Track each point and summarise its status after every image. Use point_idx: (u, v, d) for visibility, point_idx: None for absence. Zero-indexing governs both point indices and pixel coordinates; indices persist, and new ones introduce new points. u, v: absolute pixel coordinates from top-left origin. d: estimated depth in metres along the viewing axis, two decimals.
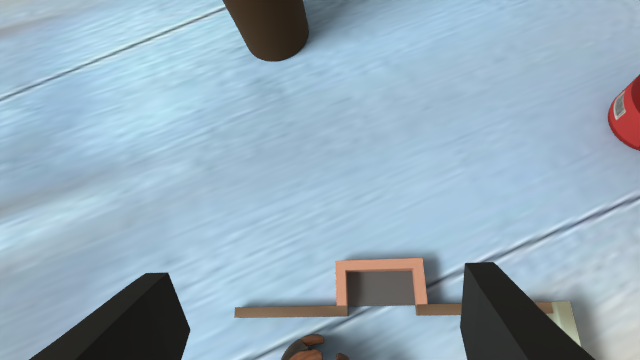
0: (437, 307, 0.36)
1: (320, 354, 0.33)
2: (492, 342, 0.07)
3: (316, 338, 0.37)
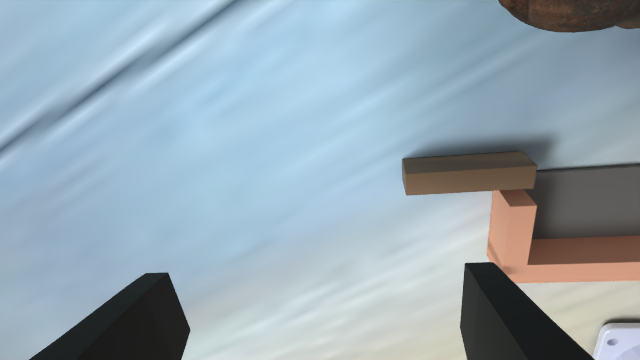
0: None
1: None
2: (492, 342, 0.07)
3: None
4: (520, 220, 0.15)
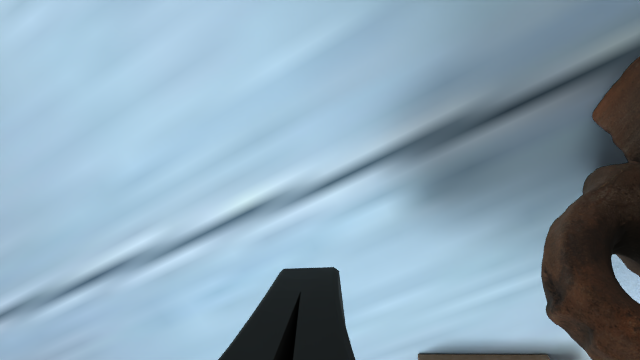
0: None
1: None
2: None
3: None
4: None
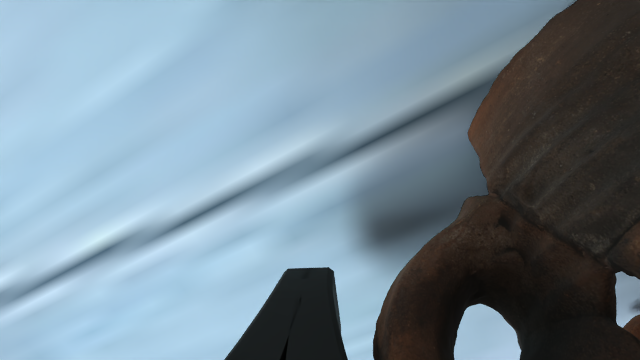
0: None
1: None
2: None
3: None
4: None
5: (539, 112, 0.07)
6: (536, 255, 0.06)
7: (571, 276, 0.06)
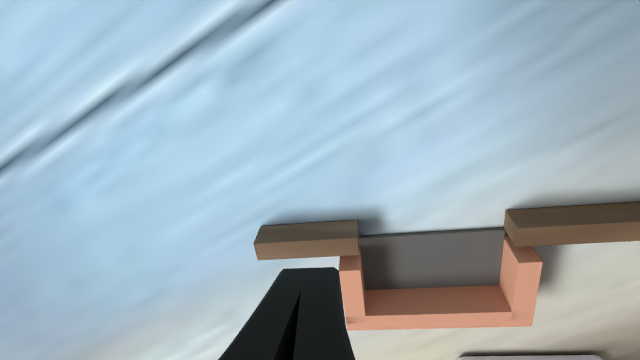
0: None
1: None
2: None
3: None
4: (350, 281, 0.18)
5: None
6: None
7: None
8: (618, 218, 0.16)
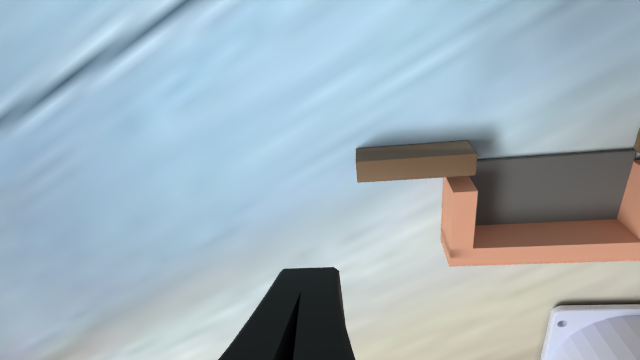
0: None
1: None
2: None
3: None
4: (463, 205, 0.16)
5: None
6: None
7: None
8: None
